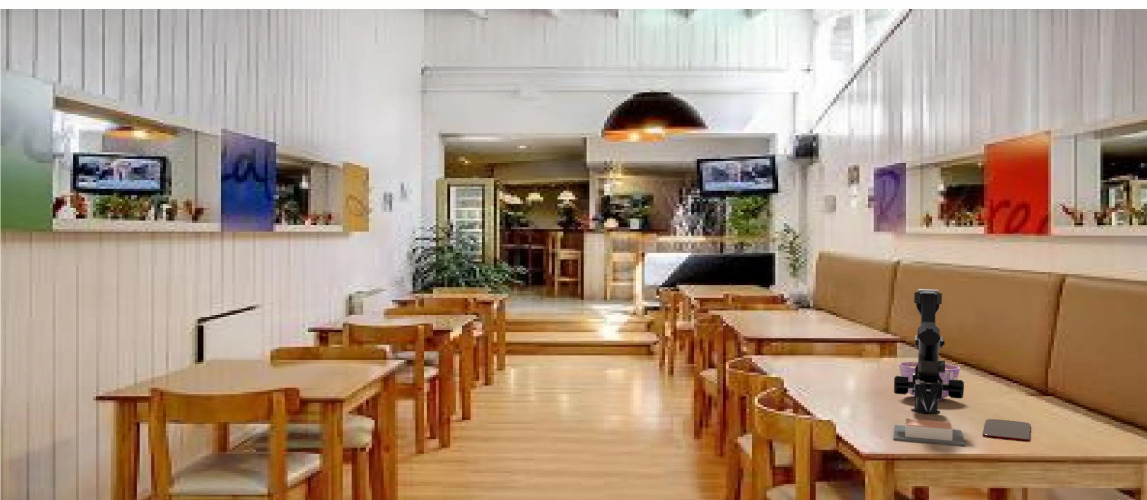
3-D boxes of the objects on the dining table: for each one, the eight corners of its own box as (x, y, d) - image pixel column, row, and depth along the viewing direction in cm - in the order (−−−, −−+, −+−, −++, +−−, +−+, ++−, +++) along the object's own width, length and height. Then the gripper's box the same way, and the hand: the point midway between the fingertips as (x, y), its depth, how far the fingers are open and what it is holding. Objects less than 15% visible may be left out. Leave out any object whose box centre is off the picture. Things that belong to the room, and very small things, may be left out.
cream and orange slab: (905, 418, 259) (905, 424, 249) (950, 421, 255) (952, 428, 245) (905, 429, 259) (905, 436, 249) (950, 433, 255) (952, 440, 245)
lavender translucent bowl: (969, 404, 305) (970, 370, 304) (909, 403, 305) (910, 369, 305) (945, 394, 325) (946, 362, 324) (889, 393, 325) (890, 361, 325)
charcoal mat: (894, 426, 265) (894, 424, 265) (961, 432, 259) (961, 430, 259) (893, 440, 248) (893, 437, 248) (964, 446, 241) (964, 444, 241)
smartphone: (981, 434, 254) (985, 418, 276) (981, 440, 254) (985, 423, 276) (1030, 439, 248) (1031, 422, 270) (1030, 445, 248) (1030, 427, 270)
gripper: (894, 348, 264) (893, 391, 254) (964, 351, 258) (965, 396, 247) (894, 371, 272) (893, 414, 261) (962, 375, 265) (963, 420, 255)
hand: (928, 411), depth 256 cm, fingers closed
